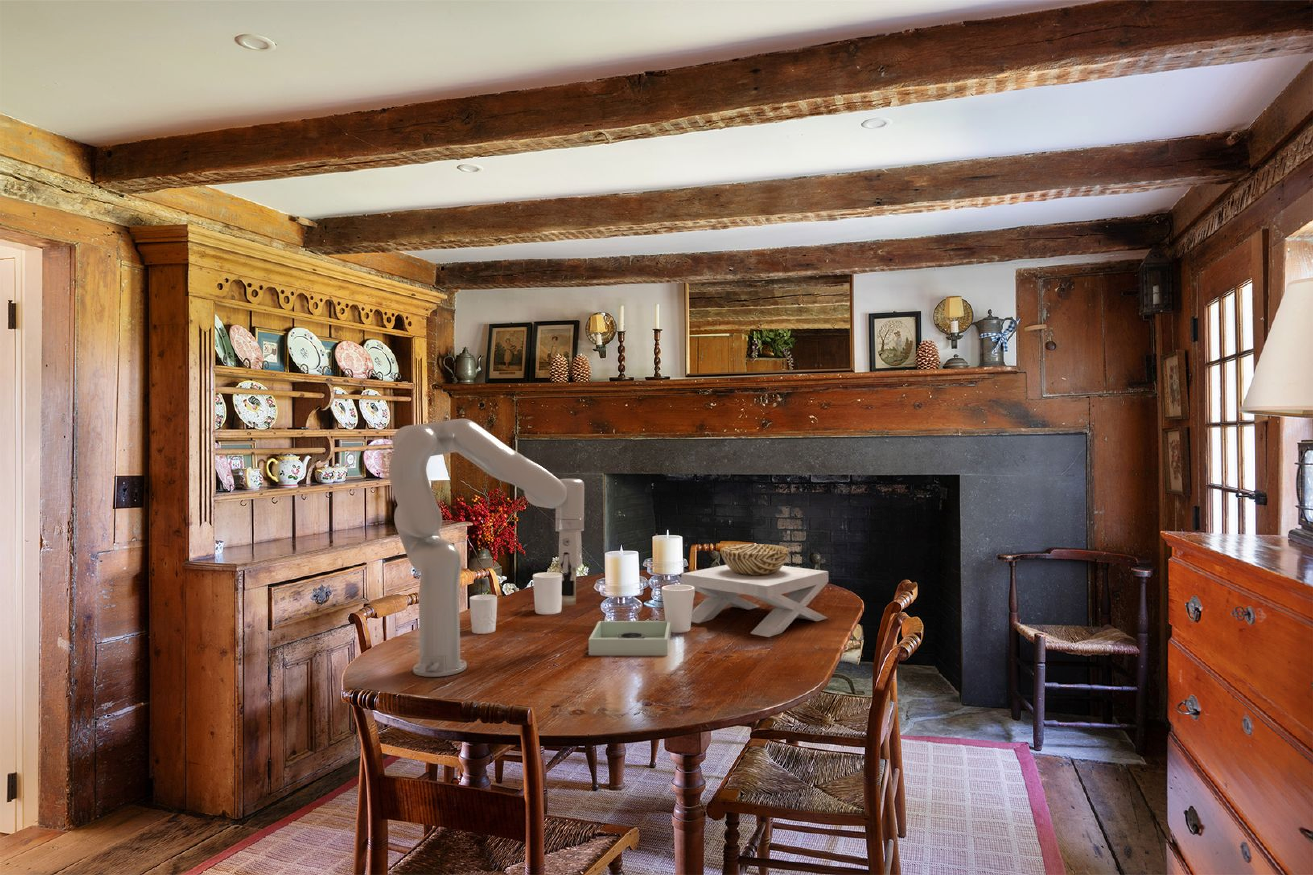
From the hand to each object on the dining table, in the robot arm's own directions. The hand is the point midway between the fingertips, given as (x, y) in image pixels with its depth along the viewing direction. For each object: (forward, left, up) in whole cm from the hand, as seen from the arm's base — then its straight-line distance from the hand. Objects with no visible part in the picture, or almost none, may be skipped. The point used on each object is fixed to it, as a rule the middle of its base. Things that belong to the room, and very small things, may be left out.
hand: (569, 593), depth 212 cm
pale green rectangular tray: (0, -16, -15) cm, 22 cm away
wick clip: (0, -16, -14) cm, 21 cm away
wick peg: (0, 0, -3) cm, 3 cm away
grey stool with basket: (+35, -51, -15) cm, 64 cm away
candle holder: (+45, +15, -15) cm, 50 cm away
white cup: (+19, +29, -15) cm, 38 cm away
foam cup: (+17, -28, -15) cm, 37 cm away
